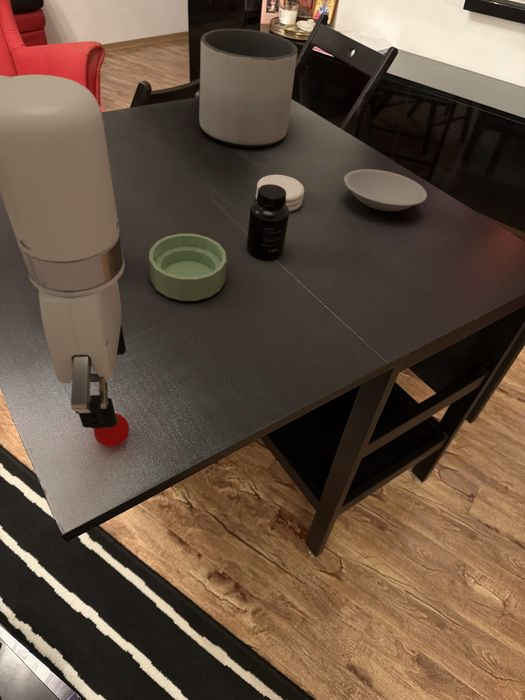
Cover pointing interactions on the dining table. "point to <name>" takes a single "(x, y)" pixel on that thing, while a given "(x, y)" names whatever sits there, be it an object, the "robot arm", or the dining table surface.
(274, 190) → the supplement bottle
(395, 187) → the dish
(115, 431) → the cherry tomato
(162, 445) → the dining table surface
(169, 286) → the bowl
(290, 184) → the white round flat stack
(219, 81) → the planter
